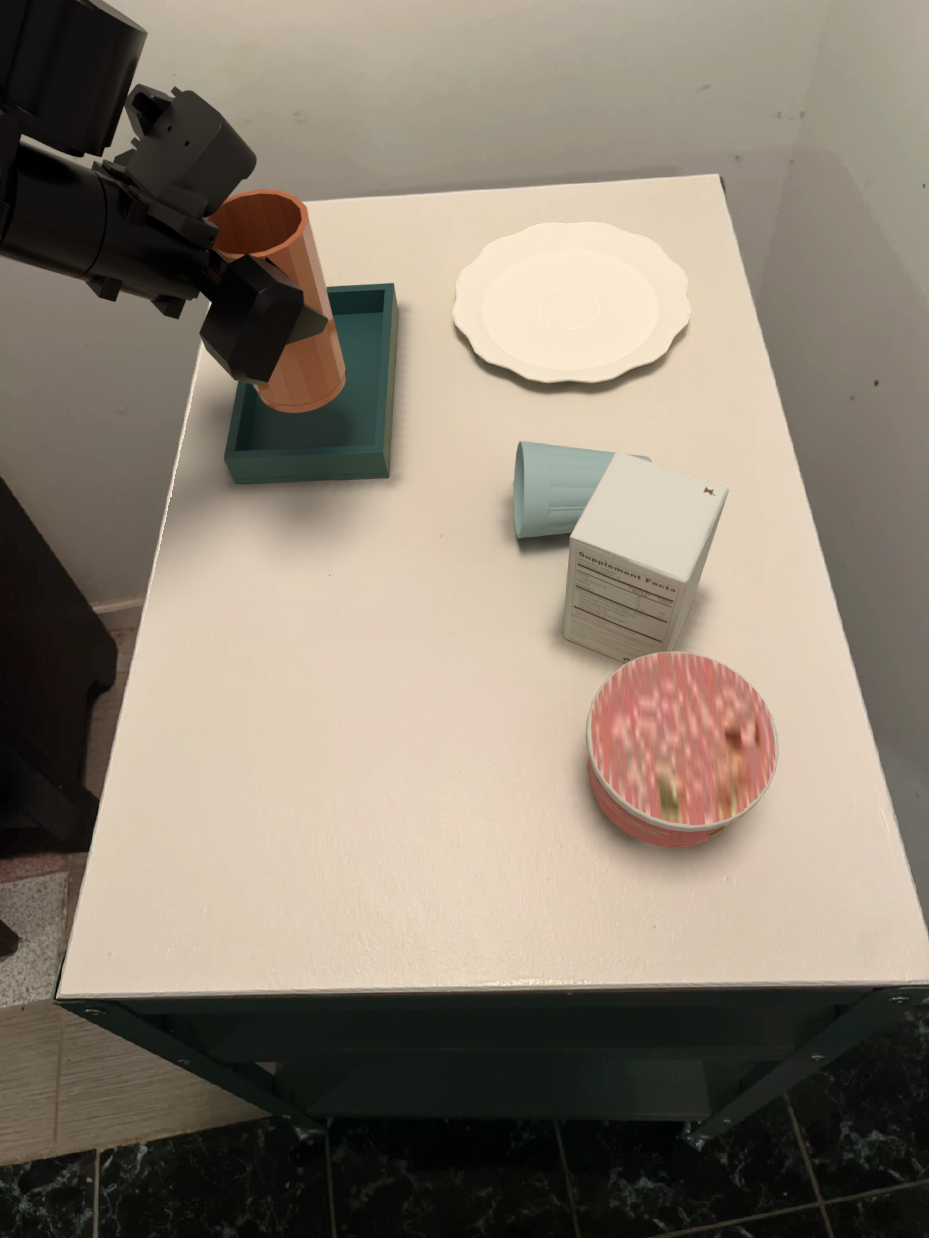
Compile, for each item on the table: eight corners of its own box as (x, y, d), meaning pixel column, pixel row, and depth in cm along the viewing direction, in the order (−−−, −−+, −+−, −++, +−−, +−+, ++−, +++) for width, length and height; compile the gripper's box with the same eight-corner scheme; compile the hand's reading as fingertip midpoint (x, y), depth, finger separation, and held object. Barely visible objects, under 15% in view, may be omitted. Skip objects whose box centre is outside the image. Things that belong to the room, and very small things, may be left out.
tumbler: (307, 426, 60) (257, 272, 49) (237, 391, 63) (174, 237, 52) (365, 367, 63) (330, 208, 52) (295, 336, 66) (248, 178, 54)
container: (581, 862, 51) (590, 825, 44) (576, 704, 56) (583, 649, 49) (756, 865, 50) (793, 829, 43) (734, 705, 55) (765, 650, 48)
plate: (734, 339, 72) (739, 324, 70) (522, 429, 68) (522, 415, 67) (609, 211, 81) (610, 195, 80) (417, 284, 78) (415, 268, 76)
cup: (629, 492, 66) (511, 491, 66) (648, 422, 60) (519, 420, 60) (643, 557, 62) (517, 556, 61) (665, 488, 56) (526, 487, 56)
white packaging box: (600, 560, 61) (616, 445, 50) (696, 597, 59) (735, 485, 48) (558, 639, 58) (565, 535, 47) (658, 681, 56) (689, 582, 45)
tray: (388, 477, 67) (383, 452, 64) (235, 484, 67) (223, 459, 65) (398, 311, 76) (393, 282, 74) (264, 318, 77) (254, 290, 74)
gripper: (220, 148, 38) (433, 253, 50) (52, 7, 46) (272, 128, 58) (137, 363, 43) (351, 409, 55) (-3, 201, 50) (212, 274, 63)
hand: (295, 298), depth 58 cm, fingers closed on tumbler, 7 cm apart
